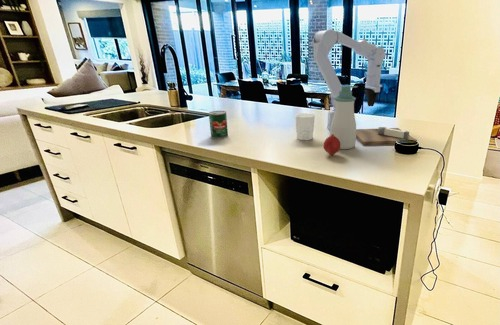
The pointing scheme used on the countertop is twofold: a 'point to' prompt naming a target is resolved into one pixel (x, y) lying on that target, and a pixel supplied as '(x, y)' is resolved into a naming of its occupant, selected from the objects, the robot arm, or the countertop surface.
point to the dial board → (377, 137)
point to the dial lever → (393, 132)
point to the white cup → (305, 126)
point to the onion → (332, 145)
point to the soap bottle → (344, 118)
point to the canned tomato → (218, 124)
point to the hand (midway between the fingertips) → (370, 105)
